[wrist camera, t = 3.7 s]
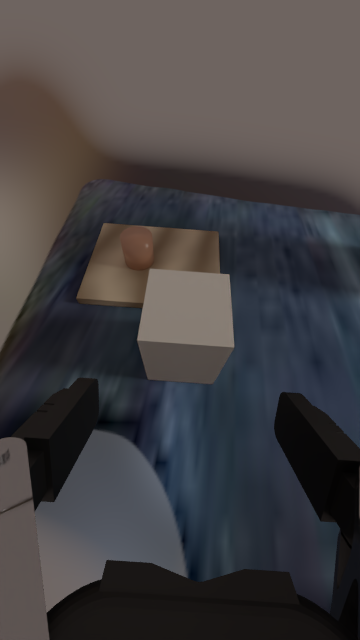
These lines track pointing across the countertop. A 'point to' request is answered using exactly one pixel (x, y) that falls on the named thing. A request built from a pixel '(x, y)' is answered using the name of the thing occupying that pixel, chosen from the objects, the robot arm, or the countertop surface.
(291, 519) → the countertop surface
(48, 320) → the countertop surface
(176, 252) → the board
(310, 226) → the countertop surface
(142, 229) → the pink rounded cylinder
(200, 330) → the light grey cuboid block
